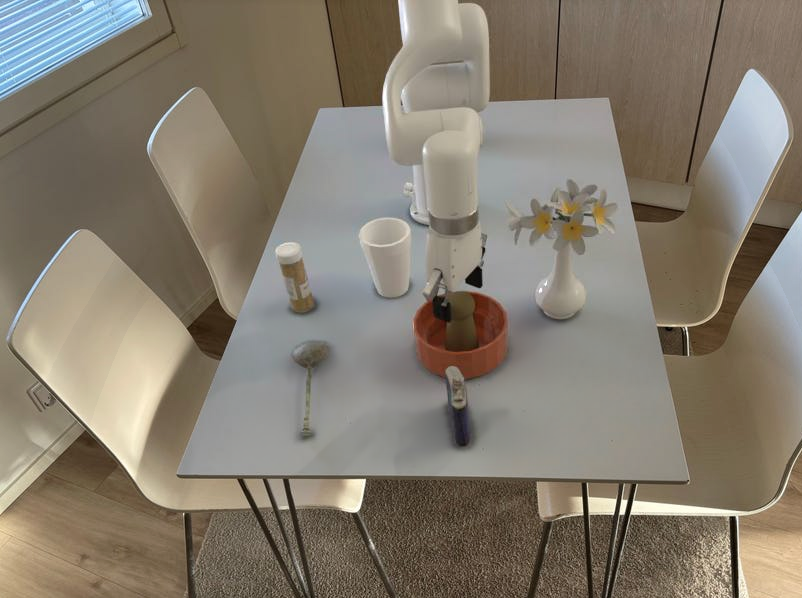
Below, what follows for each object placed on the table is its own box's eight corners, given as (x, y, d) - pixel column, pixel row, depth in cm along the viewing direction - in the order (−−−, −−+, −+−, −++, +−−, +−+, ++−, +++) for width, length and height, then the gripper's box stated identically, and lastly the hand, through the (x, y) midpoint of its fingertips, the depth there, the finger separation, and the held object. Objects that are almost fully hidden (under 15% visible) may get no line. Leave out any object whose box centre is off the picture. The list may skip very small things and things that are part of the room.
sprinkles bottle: (317, 309, 132) (303, 251, 123) (294, 316, 131) (278, 259, 122) (310, 295, 135) (296, 238, 126) (288, 302, 134) (271, 245, 125)
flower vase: (501, 294, 132) (500, 177, 115) (596, 283, 133) (609, 165, 115) (513, 340, 123) (514, 221, 105) (615, 328, 124) (633, 207, 106)
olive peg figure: (475, 359, 119) (473, 310, 112) (441, 355, 120) (437, 307, 113) (481, 335, 124) (479, 287, 116) (448, 332, 125) (444, 284, 117)
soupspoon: (332, 344, 126) (296, 349, 126) (328, 330, 124) (292, 335, 124) (326, 435, 110) (285, 440, 110) (321, 421, 108) (279, 426, 108)
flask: (446, 404, 113) (442, 358, 106) (464, 401, 113) (461, 355, 106) (455, 448, 107) (451, 402, 99) (474, 445, 107) (471, 399, 99)
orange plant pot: (399, 360, 121) (394, 333, 117) (448, 308, 130) (446, 280, 126) (477, 394, 114) (476, 366, 110) (523, 336, 124) (524, 308, 119)
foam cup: (423, 276, 138) (417, 221, 128) (406, 306, 131) (399, 250, 122) (379, 269, 140) (370, 214, 131) (361, 297, 134) (350, 242, 125)
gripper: (462, 181, 110) (466, 266, 122) (399, 239, 100) (410, 325, 112) (504, 193, 106) (503, 279, 119) (442, 254, 97) (449, 341, 109)
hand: (458, 301), depth 115 cm, fingers open, 9 cm apart
